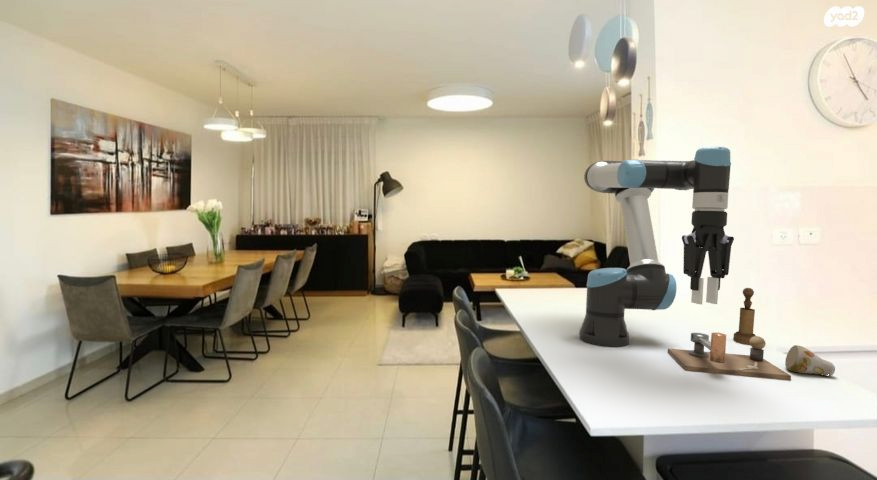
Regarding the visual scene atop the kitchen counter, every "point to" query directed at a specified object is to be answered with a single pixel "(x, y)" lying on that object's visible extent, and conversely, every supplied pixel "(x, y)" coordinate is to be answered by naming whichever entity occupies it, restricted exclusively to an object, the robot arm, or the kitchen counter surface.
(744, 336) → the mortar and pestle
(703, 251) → the robot arm
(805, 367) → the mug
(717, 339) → the lever
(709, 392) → the kitchen counter surface
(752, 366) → the wooden board
